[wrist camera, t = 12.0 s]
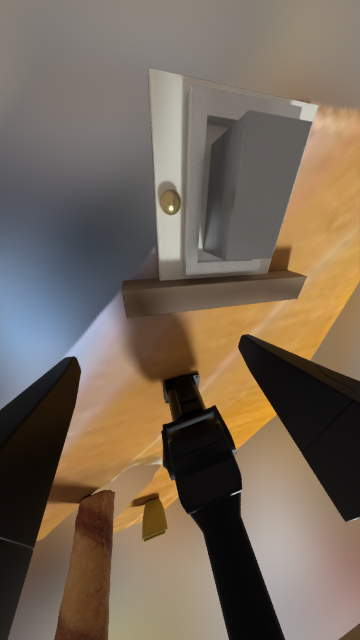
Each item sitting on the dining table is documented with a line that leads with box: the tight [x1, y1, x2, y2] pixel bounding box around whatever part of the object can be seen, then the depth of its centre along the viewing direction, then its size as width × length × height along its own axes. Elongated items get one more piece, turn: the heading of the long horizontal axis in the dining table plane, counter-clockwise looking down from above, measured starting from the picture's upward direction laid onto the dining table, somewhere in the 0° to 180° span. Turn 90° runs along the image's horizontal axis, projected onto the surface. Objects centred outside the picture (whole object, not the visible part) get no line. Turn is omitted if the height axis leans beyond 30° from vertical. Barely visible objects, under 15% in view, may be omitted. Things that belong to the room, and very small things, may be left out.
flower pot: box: [142, 498, 167, 542], centre depth 62 cm, size 9×9×9 cm
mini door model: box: [148, 68, 318, 281], centre depth 15 cm, size 14×14×2 cm
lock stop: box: [203, 110, 313, 261], centre depth 14 cm, size 8×4×5 cm, turn 179°
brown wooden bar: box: [122, 270, 307, 318], centre depth 19 cm, size 3×22×3 cm, turn 89°
